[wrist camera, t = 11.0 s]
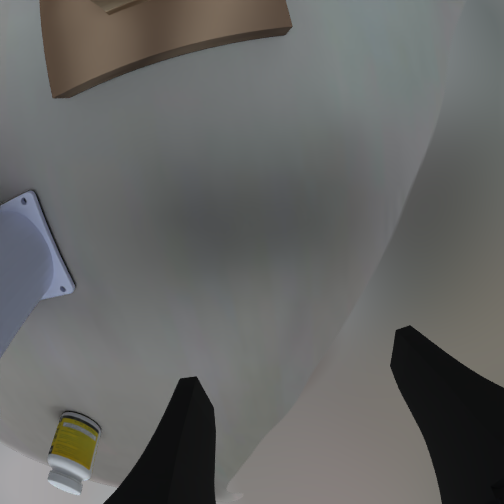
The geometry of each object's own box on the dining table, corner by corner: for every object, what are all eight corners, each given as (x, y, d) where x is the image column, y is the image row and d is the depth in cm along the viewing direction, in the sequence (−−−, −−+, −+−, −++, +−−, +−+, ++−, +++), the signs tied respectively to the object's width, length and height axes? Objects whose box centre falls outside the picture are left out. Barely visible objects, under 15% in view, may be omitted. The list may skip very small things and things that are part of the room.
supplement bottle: (57, 405, 26) (35, 472, 18) (98, 418, 27) (82, 489, 19) (66, 426, 29) (49, 486, 20) (104, 437, 30) (91, 501, 21)
